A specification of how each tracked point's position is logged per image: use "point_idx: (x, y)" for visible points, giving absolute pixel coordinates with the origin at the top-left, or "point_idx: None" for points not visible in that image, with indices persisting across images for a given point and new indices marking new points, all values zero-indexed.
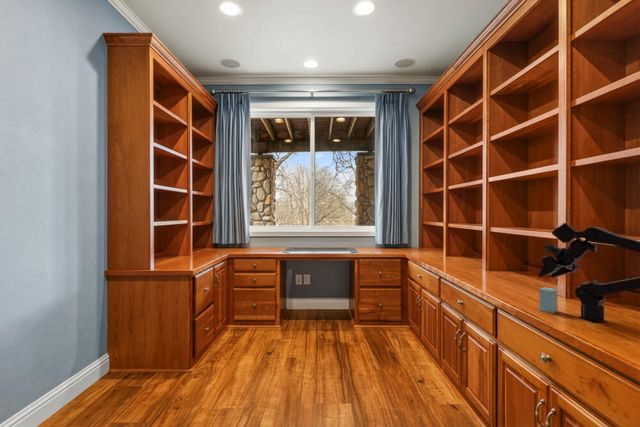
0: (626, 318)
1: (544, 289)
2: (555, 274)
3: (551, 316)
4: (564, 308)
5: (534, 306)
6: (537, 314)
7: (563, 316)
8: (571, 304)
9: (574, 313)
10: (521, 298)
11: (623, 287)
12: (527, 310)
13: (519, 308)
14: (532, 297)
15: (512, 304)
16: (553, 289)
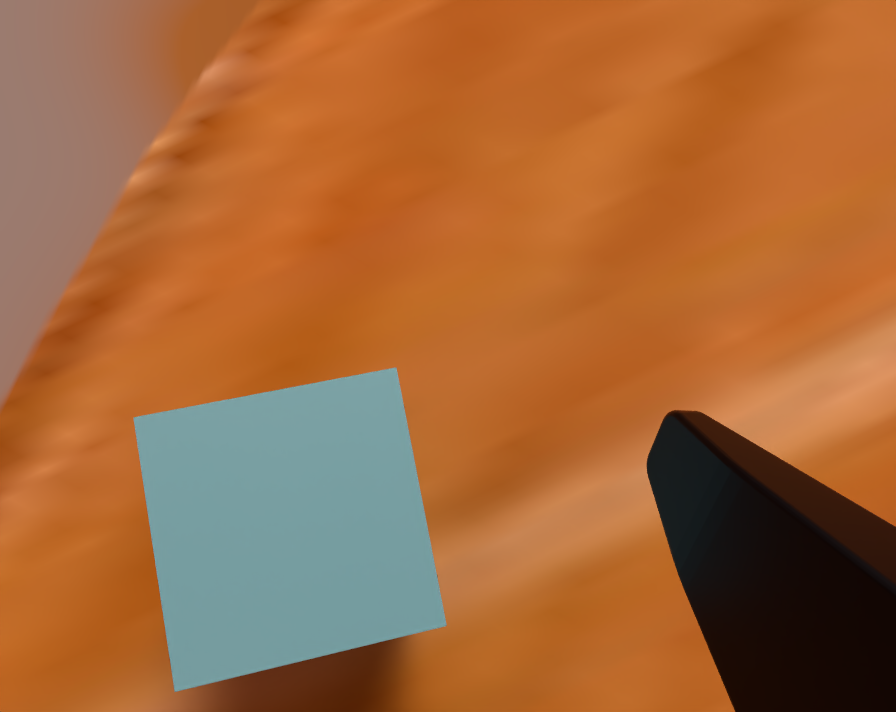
0: None
1: (174, 496)
2: (728, 580)
3: (126, 623)
4: (636, 526)
5: (396, 293)
6: (60, 489)
7: (261, 698)
8: (889, 482)
9: (520, 699)
10: (617, 35)
11: None
12: (133, 336)
13: (135, 240)
14: (782, 85)
15: (242, 106)
16: (352, 595)
